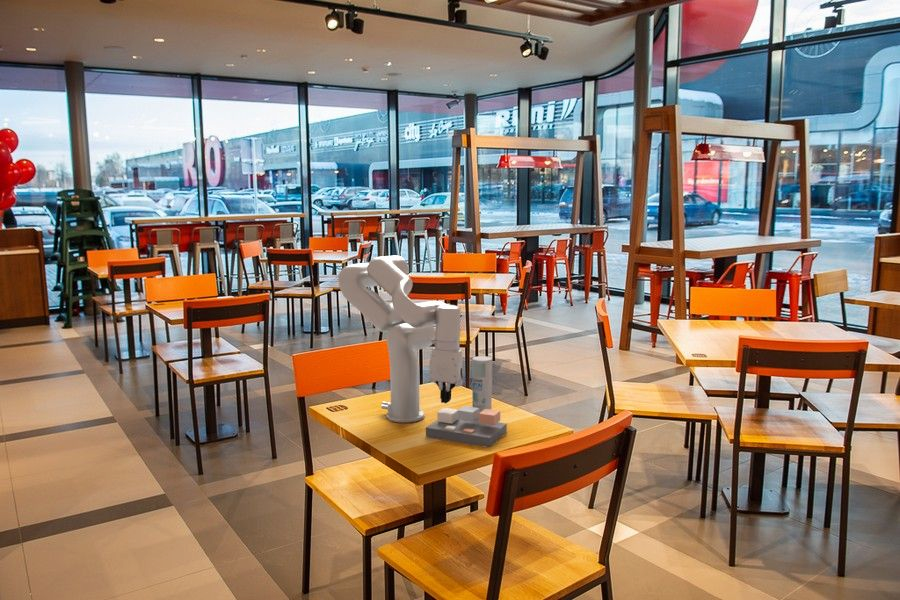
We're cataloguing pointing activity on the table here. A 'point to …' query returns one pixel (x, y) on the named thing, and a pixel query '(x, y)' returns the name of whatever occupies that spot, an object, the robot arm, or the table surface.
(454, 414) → the cream key
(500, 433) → the key pad
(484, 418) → the terracotta key
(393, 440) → the table surface
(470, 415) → the grey key
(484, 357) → the spray can
